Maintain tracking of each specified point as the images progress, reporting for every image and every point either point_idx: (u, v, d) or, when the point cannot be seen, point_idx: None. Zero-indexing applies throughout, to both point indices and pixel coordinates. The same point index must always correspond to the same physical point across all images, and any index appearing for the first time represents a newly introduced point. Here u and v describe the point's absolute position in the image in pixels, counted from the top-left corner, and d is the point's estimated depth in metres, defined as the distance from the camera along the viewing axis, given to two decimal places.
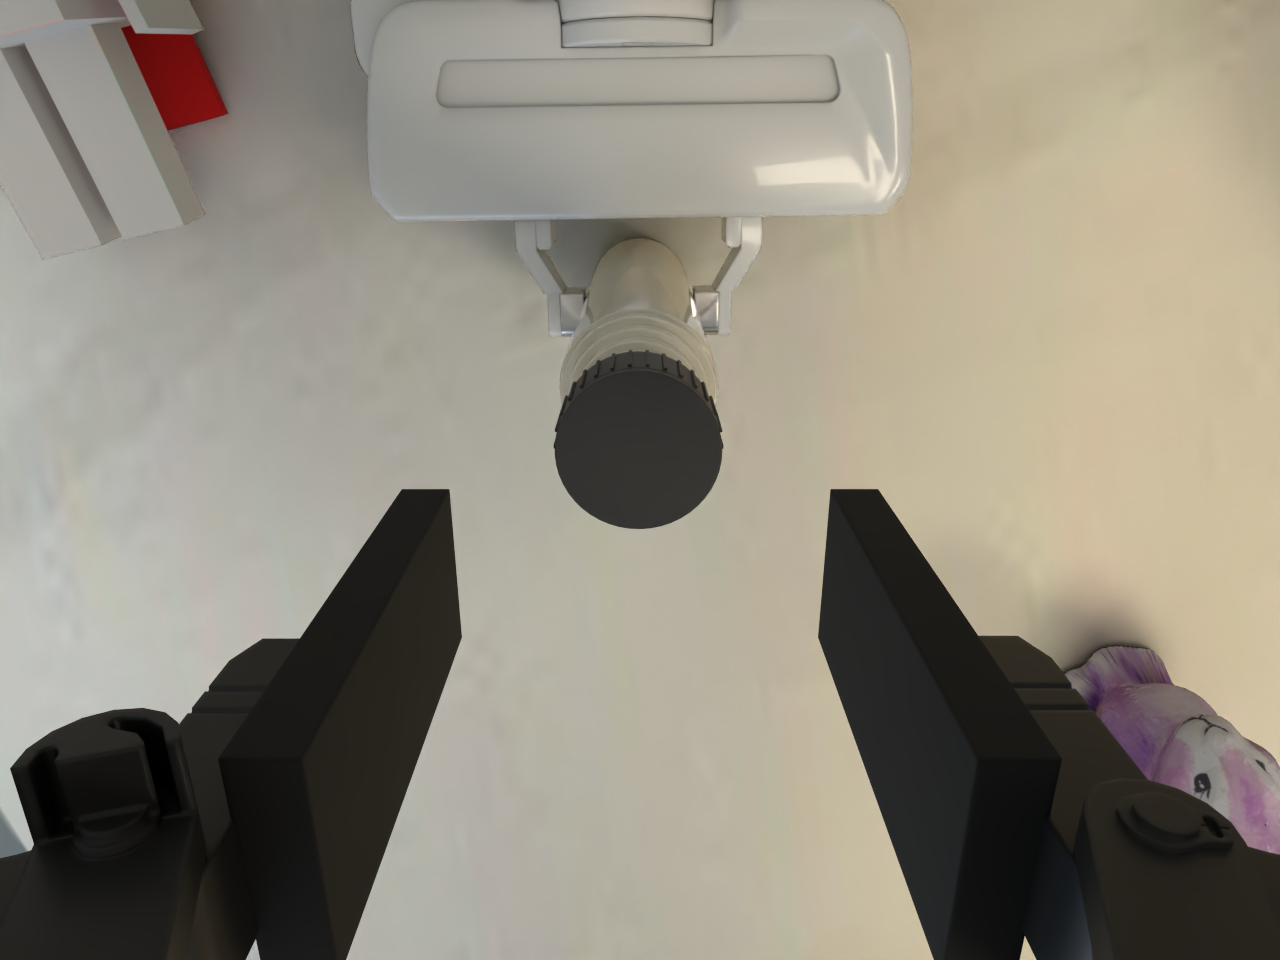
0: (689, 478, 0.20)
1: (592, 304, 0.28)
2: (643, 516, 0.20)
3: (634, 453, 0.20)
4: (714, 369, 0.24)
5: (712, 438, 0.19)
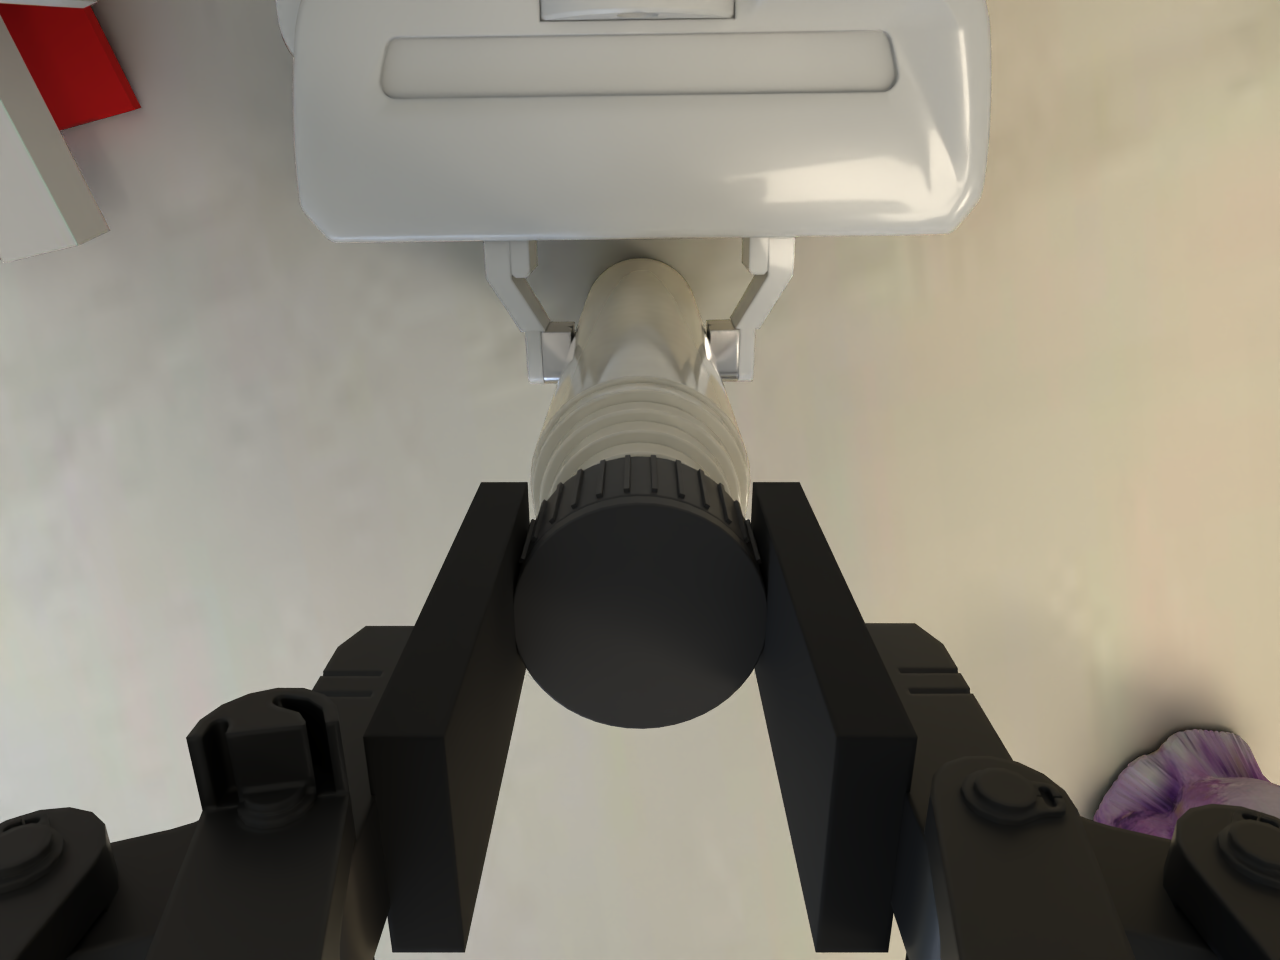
0: (718, 658, 0.13)
1: (578, 358, 0.21)
2: (647, 711, 0.13)
3: (634, 623, 0.13)
4: (745, 459, 0.18)
5: (754, 601, 0.13)
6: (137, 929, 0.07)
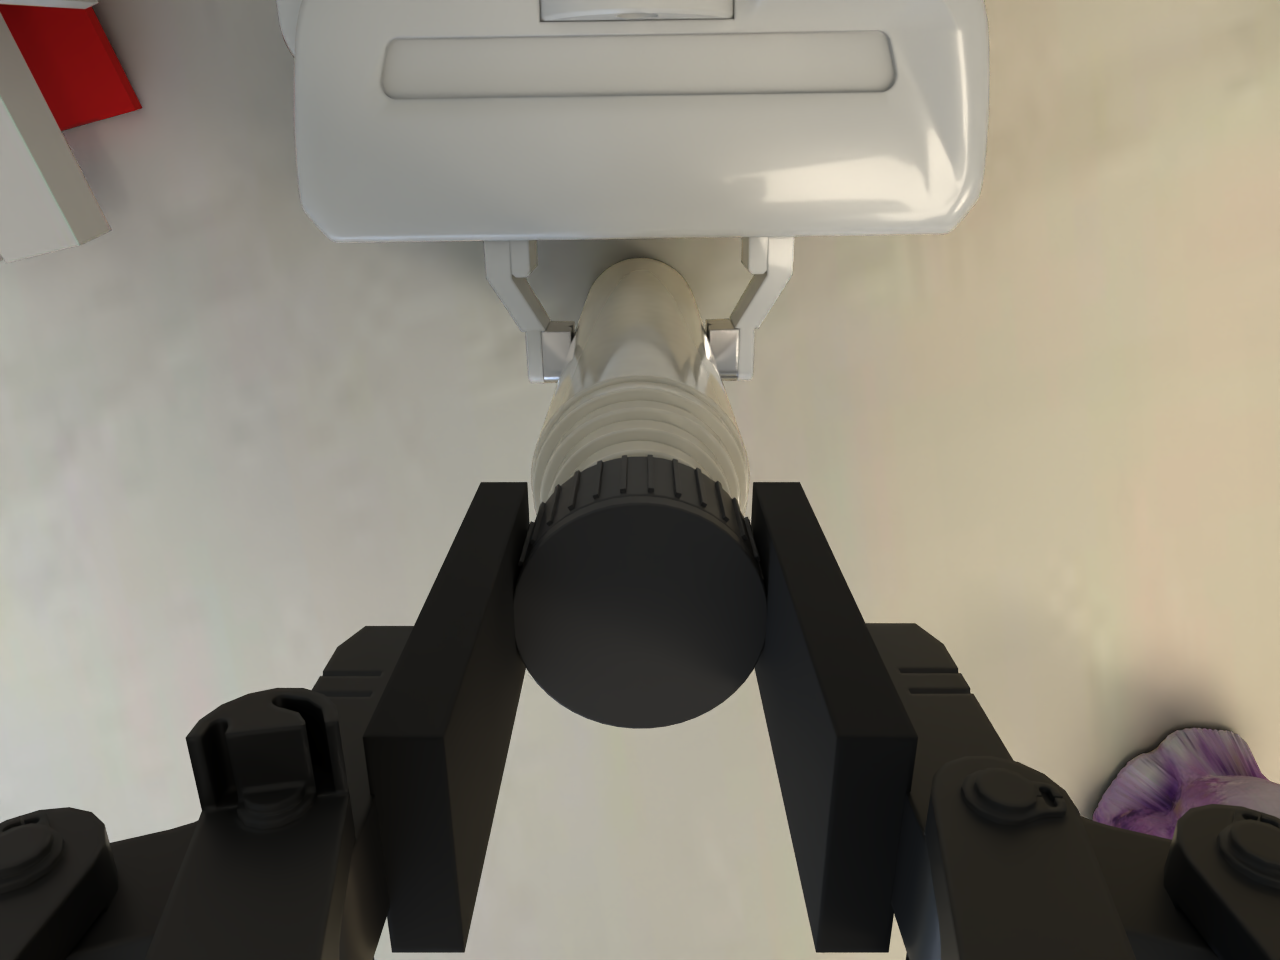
0: (689, 553, 0.12)
1: (578, 358, 0.21)
2: (747, 622, 0.13)
3: (640, 627, 0.13)
4: (744, 457, 0.18)
5: (624, 517, 0.12)
6: (136, 929, 0.07)
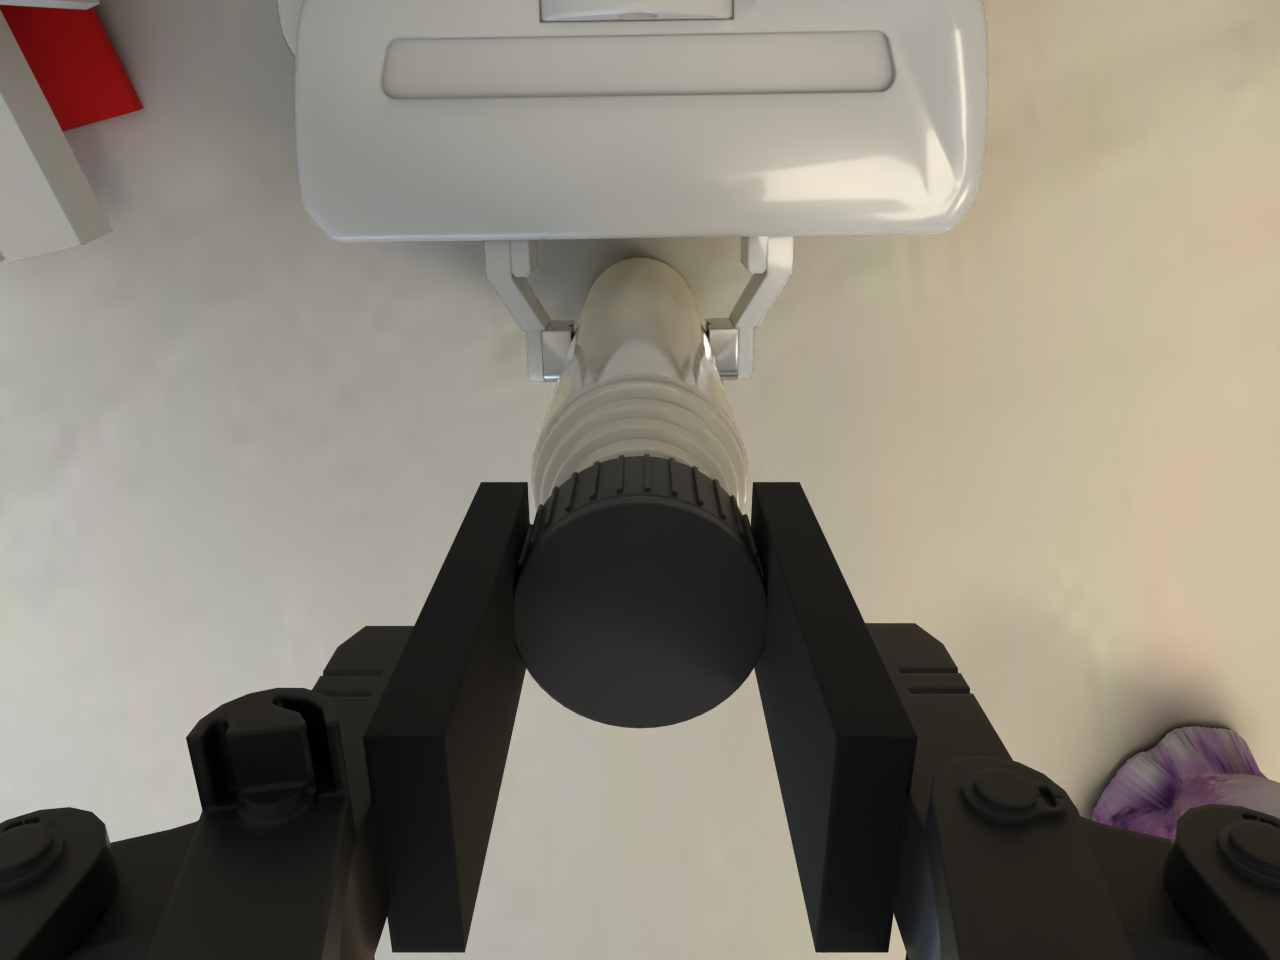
0: (566, 573, 0.12)
1: (578, 357, 0.21)
2: (649, 524, 0.12)
3: (646, 622, 0.13)
4: (744, 455, 0.18)
5: (524, 627, 0.13)
6: (137, 929, 0.07)
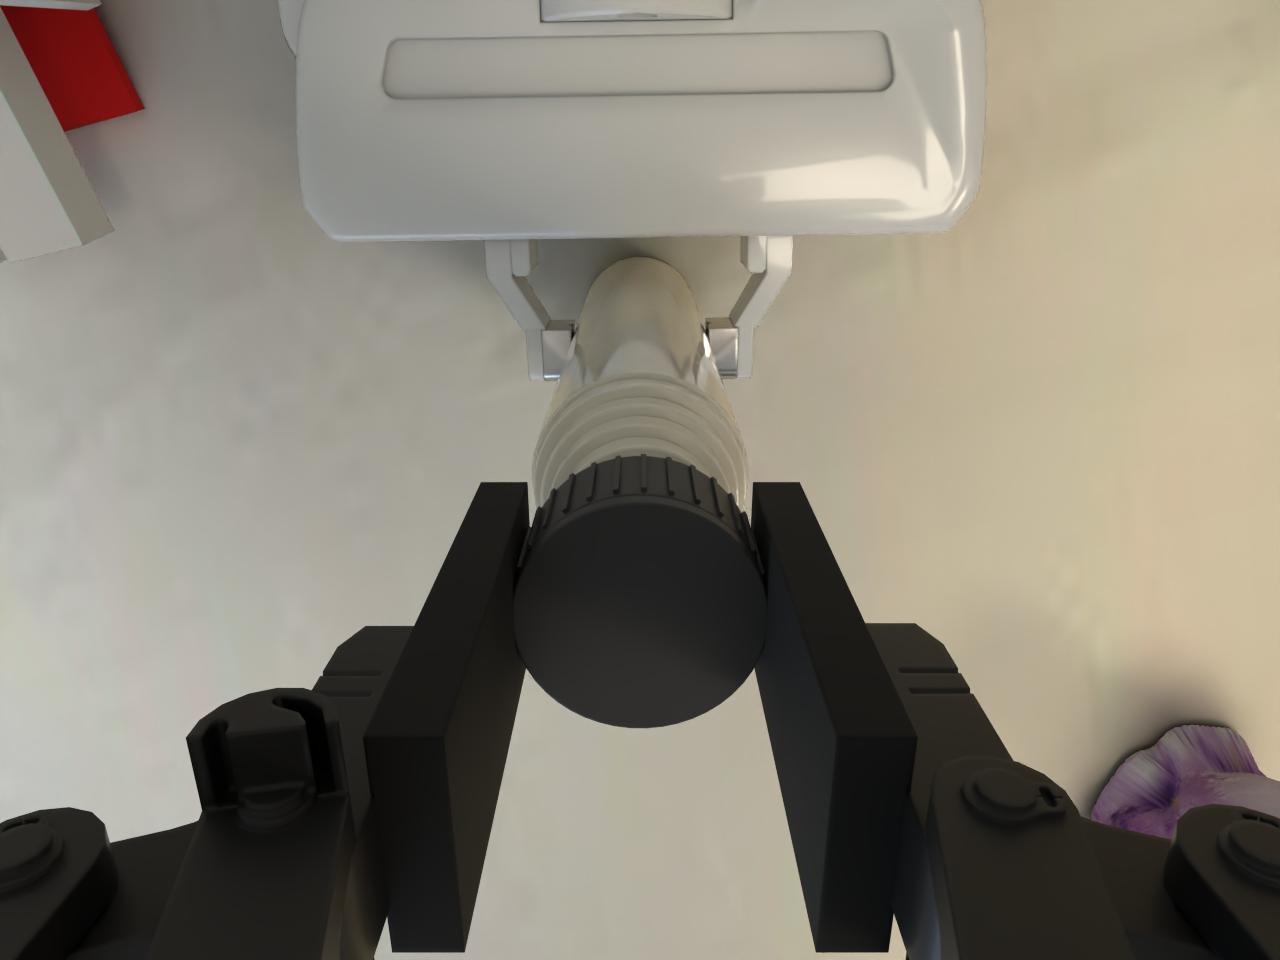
0: (582, 679, 0.13)
1: (578, 355, 0.21)
2: (533, 606, 0.13)
3: (641, 616, 0.13)
4: (743, 453, 0.18)
5: (637, 718, 0.13)
6: (137, 929, 0.07)
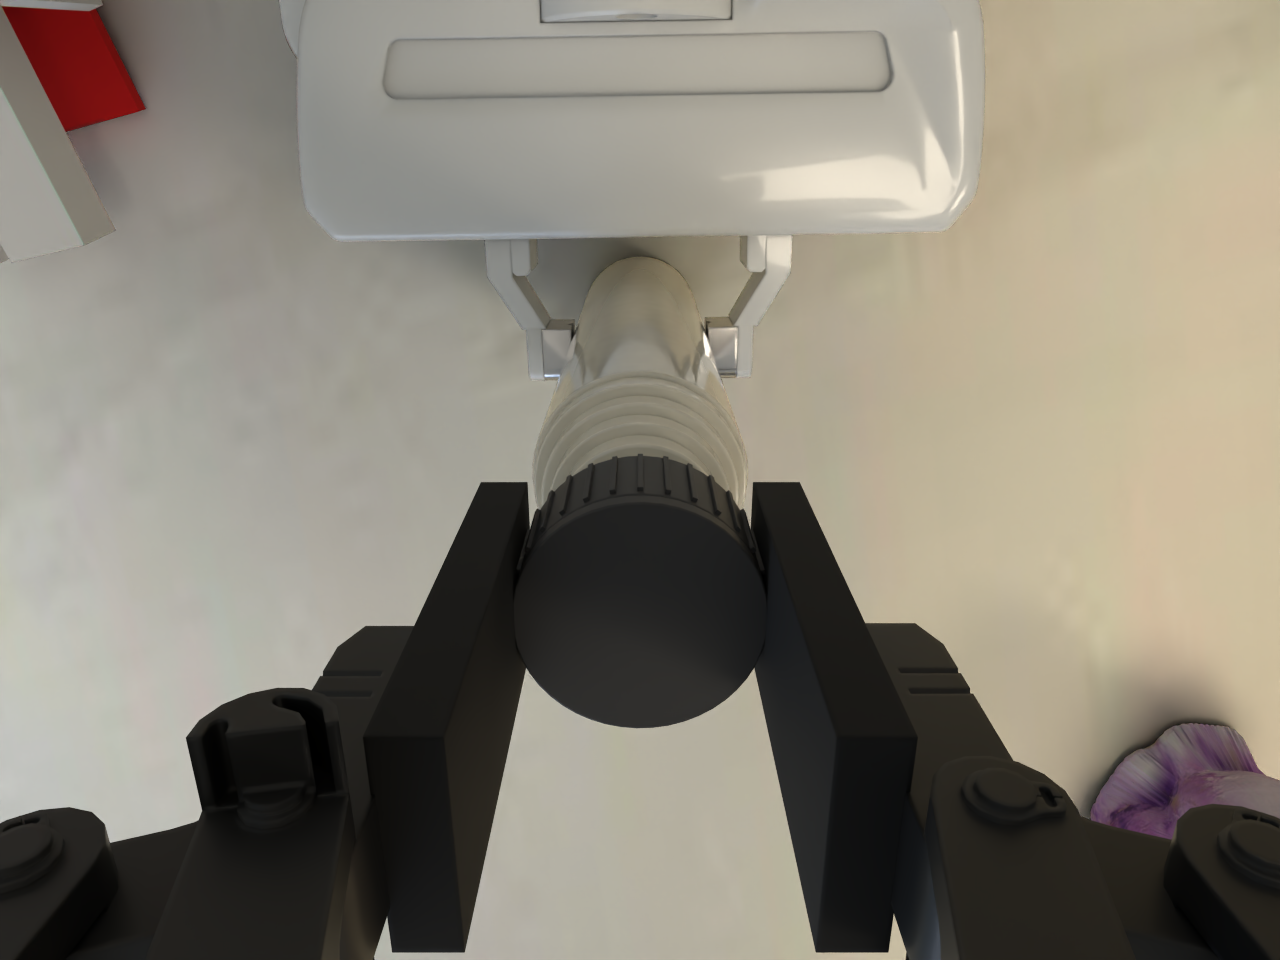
0: (701, 676, 0.13)
1: (578, 354, 0.21)
2: (616, 708, 0.13)
3: (634, 620, 0.13)
4: (742, 452, 0.18)
5: (755, 632, 0.13)
6: (137, 929, 0.07)
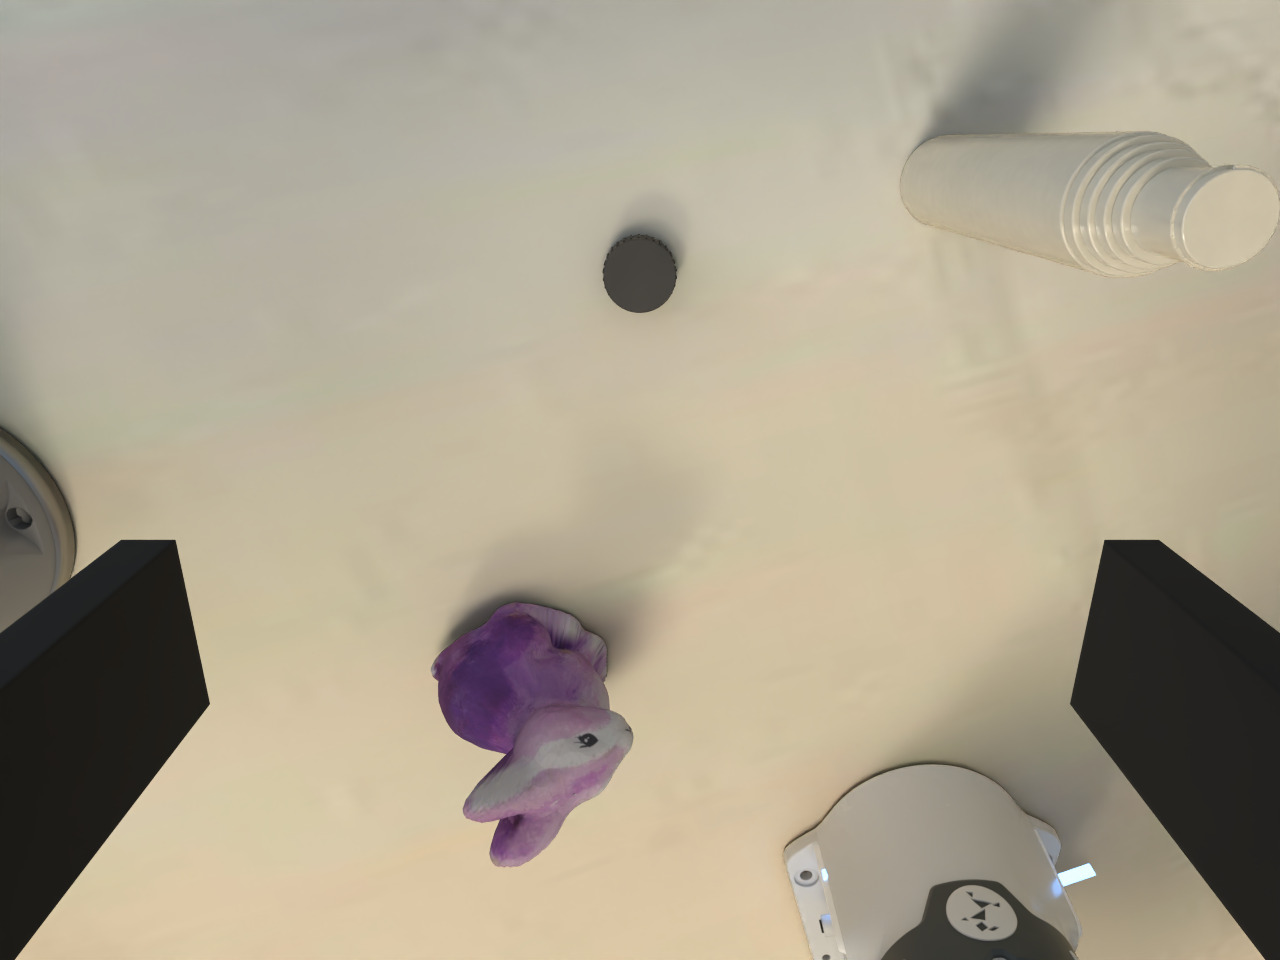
0: (659, 259, 0.45)
1: None
2: (668, 285, 0.45)
3: (639, 278, 0.45)
4: None
5: (645, 243, 0.45)
6: None
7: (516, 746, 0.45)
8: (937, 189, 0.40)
